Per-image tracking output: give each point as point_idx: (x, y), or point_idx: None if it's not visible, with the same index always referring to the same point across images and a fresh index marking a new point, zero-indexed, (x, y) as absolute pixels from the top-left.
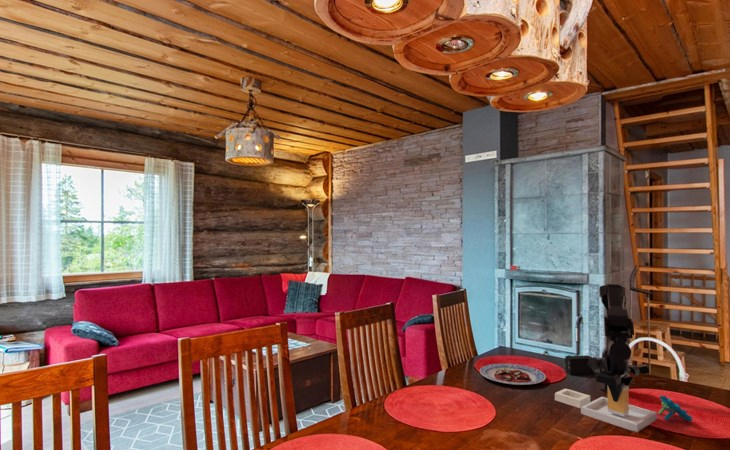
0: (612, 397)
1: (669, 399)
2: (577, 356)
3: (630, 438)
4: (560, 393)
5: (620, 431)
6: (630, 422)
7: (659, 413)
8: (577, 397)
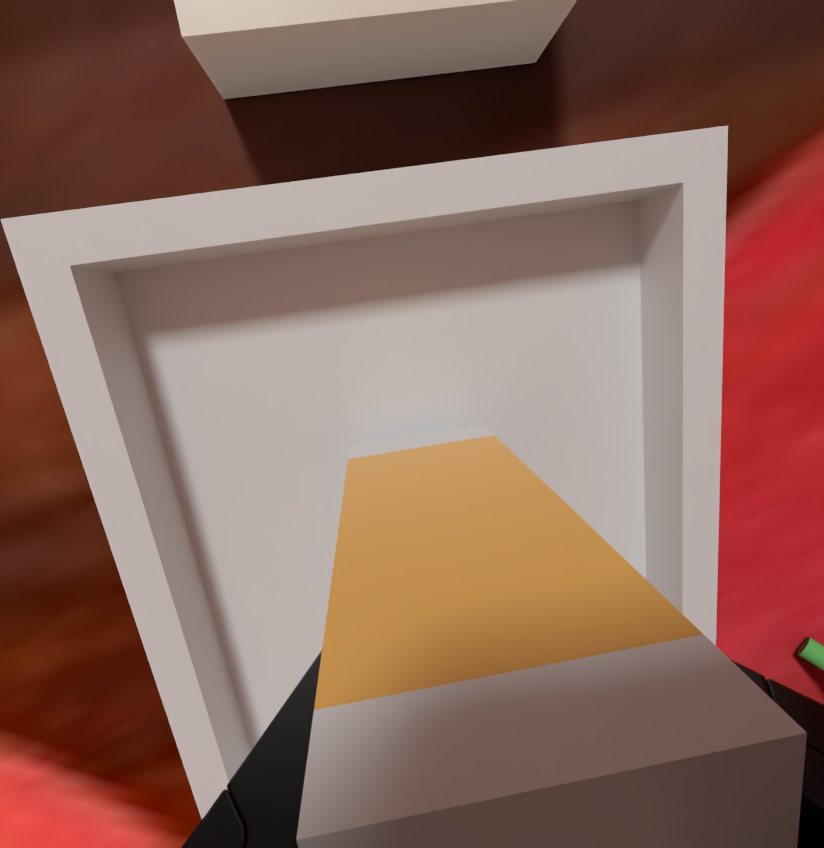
0: (307, 672)
1: None
2: None
3: (66, 822)
4: None
5: (107, 715)
6: (208, 802)
7: (803, 656)
8: None
